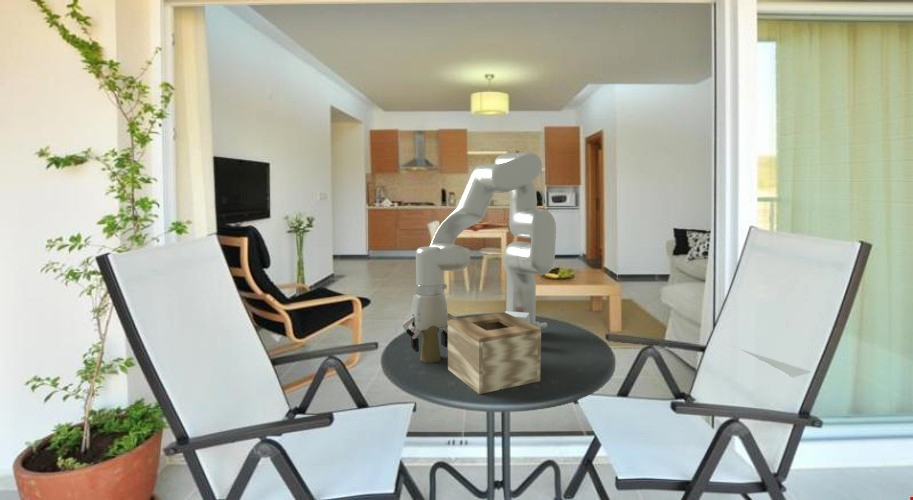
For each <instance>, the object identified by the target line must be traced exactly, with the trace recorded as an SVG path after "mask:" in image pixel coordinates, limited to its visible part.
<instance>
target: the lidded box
mask: <svg viewBox="0 0 913 500" xmlns="http://www.w3.org/2000/svg"><path fill="white" fill-rule="evenodd" d="M541 355H542V328H539V327H536V326H534V325H532V324H530V323H527V322H525V321H523V320H521V319H519V318H516V317H514V316H512V315H510V314H507V313H505V311H504V312H496V313H489V314H481V315H477V316H476V315H474V316H467V317H461V318H457V319H452V320H450V319H448V347H447V370H448V371H449V372H450V373H452V374H453V375H454V376H455V377H457V378H458V379H459V380H461V381H462V382H463V383H464V384H466V385H467V386H468V387H469V388H470V389H472V390H473V391H474V392H475V393H477V394H478V395H482V394H488V393H491V392H495V391H500V389H501V390H505V389H510V388H513V387H519V386H523V385H528V384H531V383H539V382H541V368H542V367H541V366H542V365H541V362H542V359H541V358H542V357H541Z"/></svg>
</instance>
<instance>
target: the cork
mask: <svg viewBox="0 0 913 500" xmlns="http://www.w3.org/2000/svg"><path fill="white" fill-rule="evenodd" d="M439 330H440V328H438V327H437V326H430V327H429V328H428V329H427V330H423V331H421V332H422V333H421V334H422V340H421V349H420V358H419V360H420V361H421V362H423V363H436V362H439V361H441V359H442V356H441V350H440V343H439V337H438V333H439Z"/></svg>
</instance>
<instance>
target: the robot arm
mask: <svg viewBox="0 0 913 500" xmlns="http://www.w3.org/2000/svg"><path fill="white" fill-rule="evenodd" d="M542 169H543V162H542V158H540V157H539V155H538V154H537V153H534V152H530V151H529V152H527V151H526V152H524V151H523V152H511V153H503V154H500V155H498V156H497V157H495V160H494V163H486V164H480V165H478V166H476V167H474V168H473V170H472V172H471V174H470V176H469V178H468V181H467V183H466V186H465V187H464V190H463V193H462V194H461V197H460V199H459V202H458V204H457V205H456V208H455V209H454V210H453V211H452V212H451V213H450V214H449V215H448V216H447V217H446V218H445V219H444V220H443V221H442V222H441V224H440V225H439V226H438V228H437V229H436V231H435V233H434V235H433V237H432V239H431V243H430V245H428V246H420V247H418V248H417V249H416V251H415V282H416V283H415V285H416V290H415V291H416V292H415V293H416V294H413V295H412V302H411V309H410V311H411V313H410V317H409V318H408V319H406V320H405V321H404V322H402V323H401V327H402V329H403V330H404V331H405V333H406V334H407V335H408V336H410V346H411V349H412V350H413V351H414V352H415V353H418V352H420V350H419V347H420V346H419V340H420V339H419V338H418V336H419V334H420V332H422V331H423V330H427V329H428V328H429V327H430V326H437V327H438V328H439V329H441V332H440V344H441V346H442V347H444V348H448V320H452V319H458V317H457V316H455V315H452V314H451V313H449V312H448V305H447V299H446V295H445V293H444V290H446V289H448V288H447V286H448V285H447V284H446V283H443V272H458V271H459V272H460V271H463V270H465V268H467V267H468V266H469V264H470V262H471V254H470V252H469V250H467V249H466V248H465V247H464V246H461V245H458V244H457V245H456V244H454V243H455V241H456V239H457V237H459V235H460V234H461V233H463V232H464V231H465V230H467V229H468V228H470V227H472V226H474V225H476V224H478V223H480V222H482V220H483V219H484V217H485V214H486V212H487V210H488V208H489V205H490V203H491V201H492V198H493V195H494V194H505V193H509V218H508V219H509V220H508V221H509V222H508V223H509V225H508V226H509V231H510V233H511V235H513V236H515V237H517V238H518V237H519V238H523V239H530V242H528V241H522V240H519V241H512V242H511V243H509V244H508V245H507V246H506V247H505V249H504V252H503V263H504V268H505V275H506V276H505V277H506V298H505V299H506V306H505V307H506V310H505V311H511V312H524V313H530V324H532V325H534V326H536V327H539V328H541V330H543V329H547V328H548V323H547V322H546V321H545V322H540V321H536V300H537V299H536V297H537V296H536V295H537V294H536V293H537V292H536V291H537V285H536V284H537V283H536V278H535V275H540V276H543V275H546V274H549V273H550V272H551V270H552V269H553V267H554V263H555V260H556V259H555V257H556V240H557V239H556V238H557V225H556V219H555V217H554V216H553V214H552V213H551V211H549V210H546V209H544V208H543V209H541V208H538V207H537V206H538V205H537V202H538V201H537V189H536V186H535V184H534V182H533V181H535V180H537V178H538V177H539V176H540V175H541V172H542ZM410 325H411V326H410ZM409 326H410V327H412V329H410V328H409Z"/></svg>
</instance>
